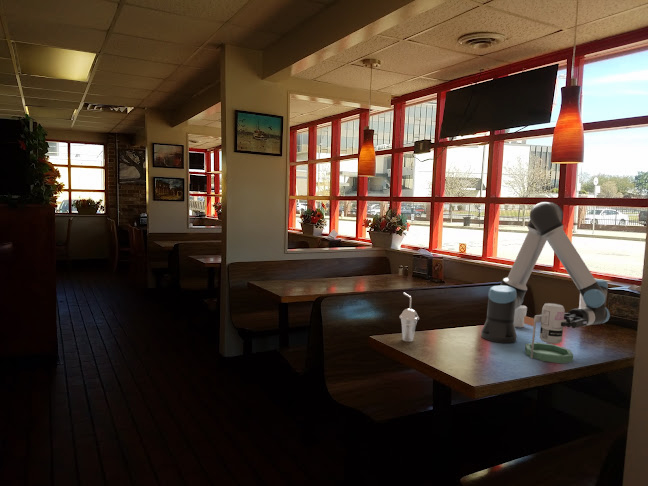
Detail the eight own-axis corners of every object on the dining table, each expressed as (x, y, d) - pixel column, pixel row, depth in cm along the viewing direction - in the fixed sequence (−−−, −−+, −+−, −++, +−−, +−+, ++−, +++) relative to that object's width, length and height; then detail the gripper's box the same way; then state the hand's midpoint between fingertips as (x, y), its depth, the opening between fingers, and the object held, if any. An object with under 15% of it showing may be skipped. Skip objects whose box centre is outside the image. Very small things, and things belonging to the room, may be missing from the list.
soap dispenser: (590, 320, 257) (595, 280, 255) (592, 322, 251) (596, 282, 249) (577, 318, 259) (581, 279, 257) (578, 321, 253) (582, 281, 251)
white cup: (526, 328, 233) (528, 308, 232) (510, 326, 234) (511, 307, 233) (523, 324, 241) (525, 305, 240) (507, 322, 242) (509, 303, 241)
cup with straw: (399, 342, 200) (402, 296, 198) (396, 336, 209) (399, 292, 207) (419, 343, 200) (422, 297, 198) (415, 337, 209) (418, 292, 207)
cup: (544, 346, 204) (547, 310, 202) (580, 359, 189) (584, 321, 187) (513, 351, 195) (517, 314, 193) (549, 365, 180) (553, 324, 178)
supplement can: (542, 336, 197) (545, 301, 196) (564, 341, 192) (567, 305, 191) (537, 340, 191) (540, 304, 189) (559, 345, 186) (562, 308, 184)
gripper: (604, 332, 190) (567, 338, 179) (557, 319, 209) (522, 324, 198) (605, 314, 189) (569, 319, 179) (558, 303, 208) (523, 306, 197)
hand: (544, 321), depth 188 cm, fingers closed on supplement can, 8 cm apart
